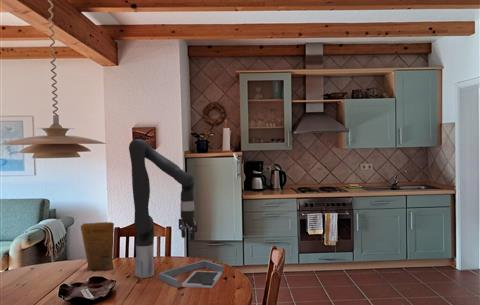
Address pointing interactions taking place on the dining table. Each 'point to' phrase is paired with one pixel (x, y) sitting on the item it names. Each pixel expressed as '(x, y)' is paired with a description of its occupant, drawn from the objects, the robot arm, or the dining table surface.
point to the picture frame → (202, 279)
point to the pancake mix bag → (98, 245)
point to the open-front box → (168, 278)
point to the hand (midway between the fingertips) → (188, 238)
